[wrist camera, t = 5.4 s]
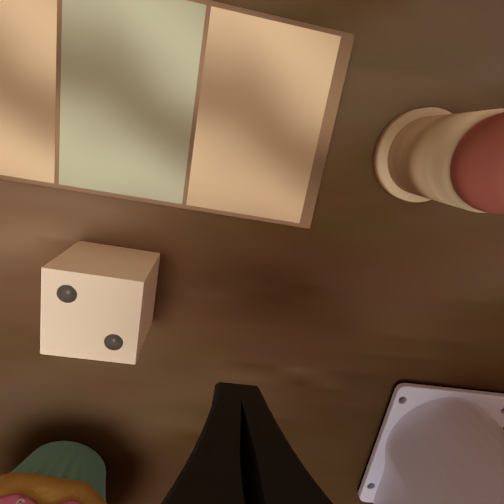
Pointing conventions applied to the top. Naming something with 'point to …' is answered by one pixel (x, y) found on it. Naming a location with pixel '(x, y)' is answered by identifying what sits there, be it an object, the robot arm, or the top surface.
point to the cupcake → (56, 476)
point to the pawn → (444, 158)
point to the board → (170, 103)
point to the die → (98, 302)
